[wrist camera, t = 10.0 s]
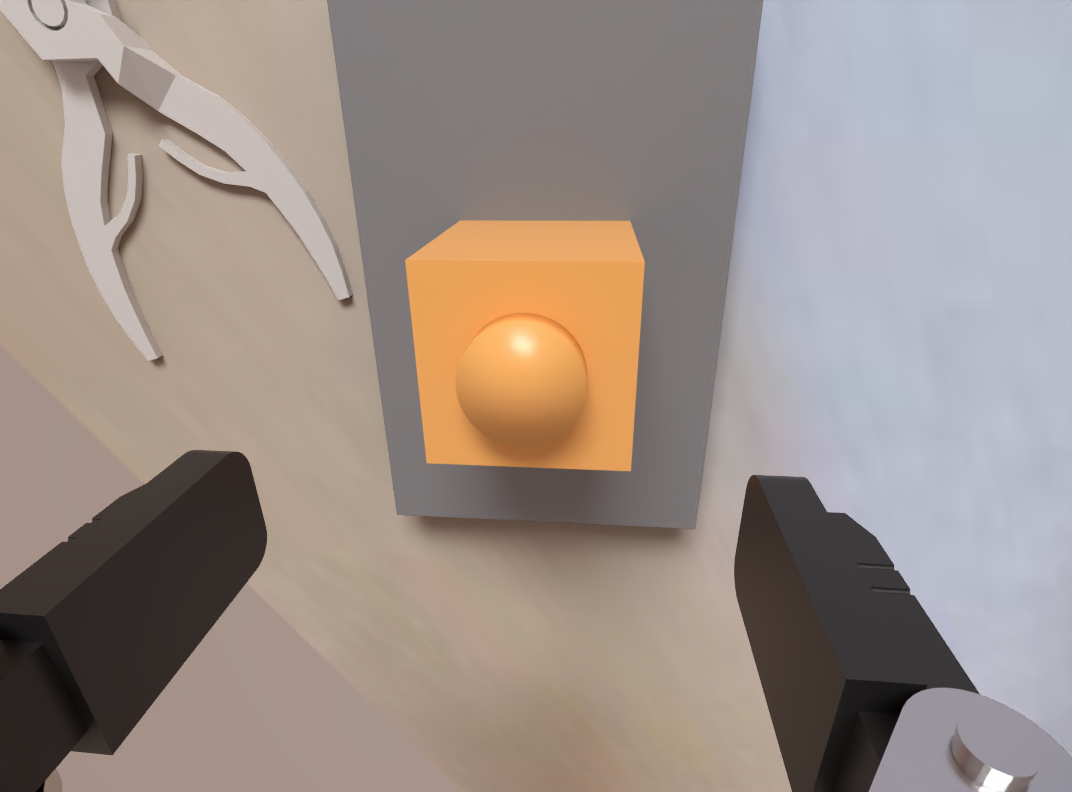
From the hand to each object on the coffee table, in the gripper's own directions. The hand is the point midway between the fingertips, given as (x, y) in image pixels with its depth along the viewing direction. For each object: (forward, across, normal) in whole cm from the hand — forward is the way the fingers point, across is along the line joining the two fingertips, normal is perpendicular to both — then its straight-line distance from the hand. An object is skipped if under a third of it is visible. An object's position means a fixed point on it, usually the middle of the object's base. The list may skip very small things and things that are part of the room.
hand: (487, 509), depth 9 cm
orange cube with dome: (+11, 0, 0) cm, 11 cm away
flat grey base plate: (+13, 0, 0) cm, 13 cm away
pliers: (+14, +14, -6) cm, 21 cm away
